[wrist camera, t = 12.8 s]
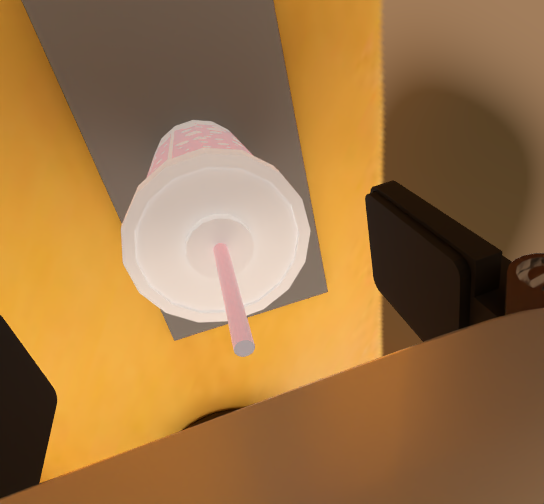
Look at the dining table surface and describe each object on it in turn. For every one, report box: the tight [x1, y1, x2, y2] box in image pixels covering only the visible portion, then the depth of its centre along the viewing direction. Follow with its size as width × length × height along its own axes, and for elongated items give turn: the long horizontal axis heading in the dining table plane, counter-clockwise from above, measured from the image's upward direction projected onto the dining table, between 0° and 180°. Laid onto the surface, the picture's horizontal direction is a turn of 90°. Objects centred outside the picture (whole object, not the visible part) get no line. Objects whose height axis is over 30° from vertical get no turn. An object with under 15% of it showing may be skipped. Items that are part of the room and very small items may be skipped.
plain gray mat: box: [22, 0, 328, 341], centre depth 22 cm, size 20×10×1 cm, turn 13°
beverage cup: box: [121, 120, 311, 357], centre depth 15 cm, size 6×6×14 cm
